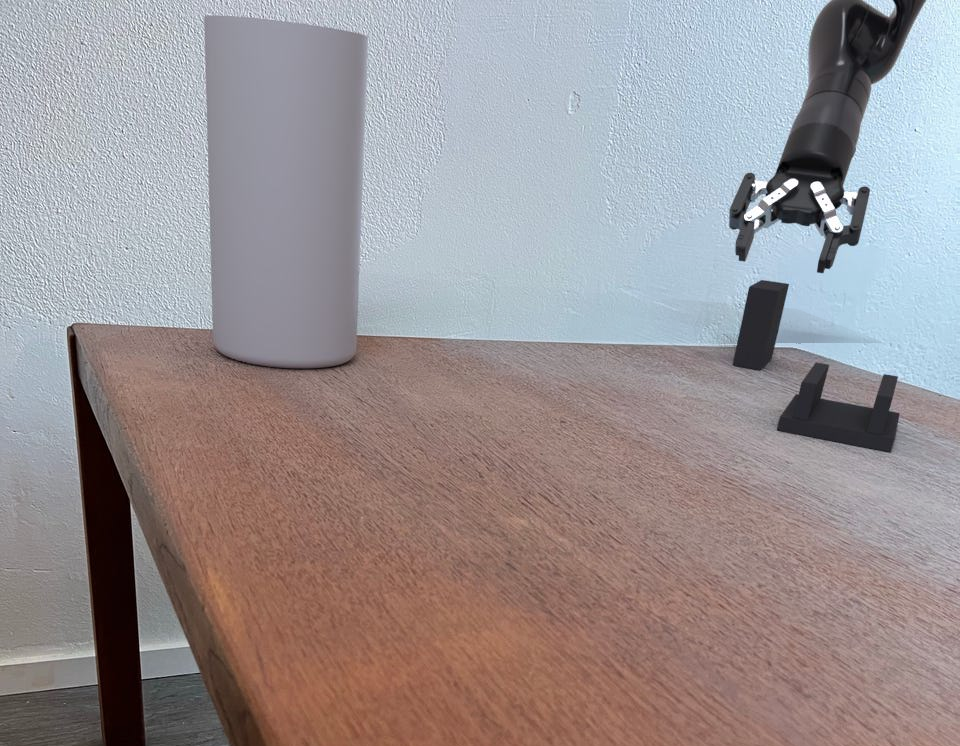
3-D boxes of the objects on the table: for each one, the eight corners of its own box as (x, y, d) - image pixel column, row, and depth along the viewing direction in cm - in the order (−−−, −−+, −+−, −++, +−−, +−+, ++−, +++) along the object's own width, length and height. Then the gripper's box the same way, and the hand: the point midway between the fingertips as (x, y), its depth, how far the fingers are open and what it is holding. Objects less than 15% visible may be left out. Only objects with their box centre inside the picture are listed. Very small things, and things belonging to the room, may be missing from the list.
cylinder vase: (325, 378, 82) (334, 25, 70) (187, 356, 84) (173, 10, 72) (374, 351, 93) (389, 43, 81) (250, 333, 95) (247, 29, 83)
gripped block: (745, 354, 111) (761, 279, 107) (771, 358, 110) (789, 283, 106) (732, 365, 104) (749, 286, 101) (760, 370, 103) (778, 290, 100)
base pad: (792, 406, 89) (804, 360, 87) (896, 426, 87) (910, 378, 85) (776, 430, 81) (789, 379, 79) (890, 452, 78) (906, 400, 76)
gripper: (758, 113, 110) (716, 228, 106) (891, 127, 106) (853, 246, 102) (755, 166, 117) (716, 276, 113) (879, 181, 113) (843, 295, 108)
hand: (781, 262), depth 107 cm, fingers open, 8 cm apart
